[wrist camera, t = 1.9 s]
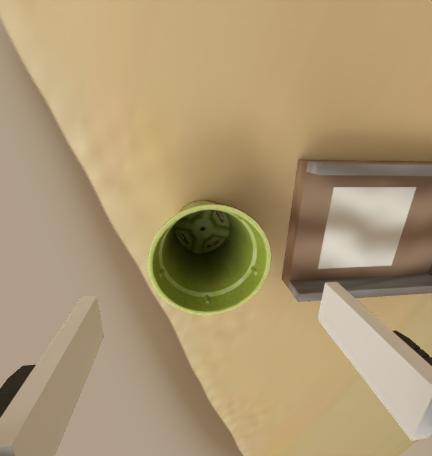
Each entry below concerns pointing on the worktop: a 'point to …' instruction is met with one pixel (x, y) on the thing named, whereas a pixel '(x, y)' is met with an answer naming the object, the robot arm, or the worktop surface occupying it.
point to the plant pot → (209, 259)
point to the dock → (360, 228)
